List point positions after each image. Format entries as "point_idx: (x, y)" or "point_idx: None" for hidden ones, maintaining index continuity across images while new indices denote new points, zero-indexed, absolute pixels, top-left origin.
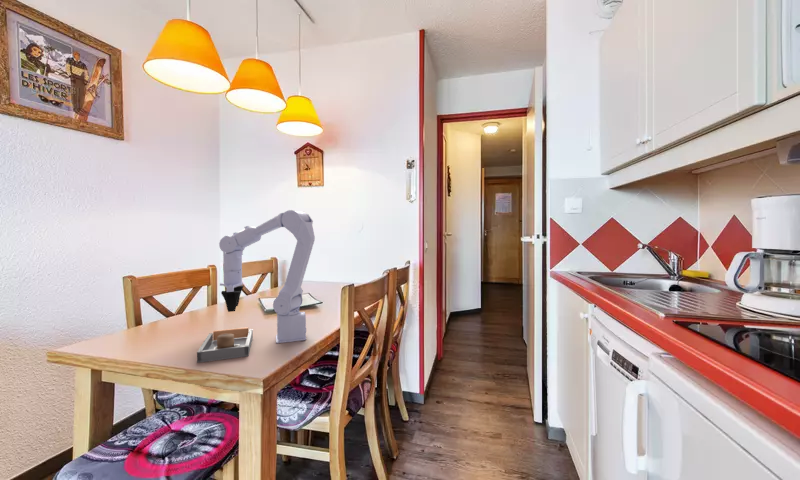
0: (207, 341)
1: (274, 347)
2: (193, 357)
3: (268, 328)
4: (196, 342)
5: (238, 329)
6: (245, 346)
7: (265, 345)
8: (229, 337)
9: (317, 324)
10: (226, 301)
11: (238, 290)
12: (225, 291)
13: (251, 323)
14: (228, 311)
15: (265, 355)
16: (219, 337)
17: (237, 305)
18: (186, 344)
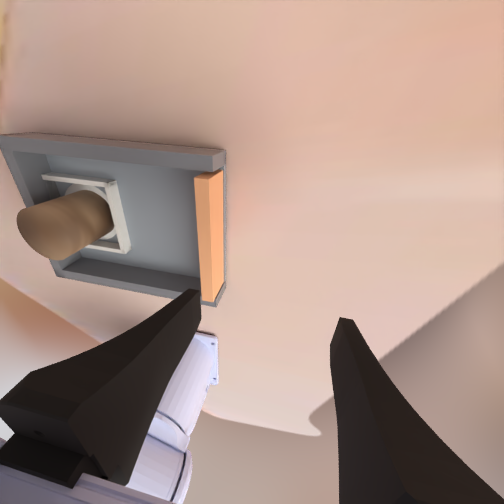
0: (102, 159)
1: (135, 314)
2: (80, 109)
3: (311, 337)
4: (254, 85)
5: (201, 271)
6: (54, 270)
7: (152, 302)
8: (31, 246)
9: (280, 419)
10: (126, 336)
11: (348, 496)
12: (39, 431)
13: (430, 307)
14: (186, 290)
15: (88, 291)
16: (27, 216)
17: (330, 348)
18: (241, 33)
